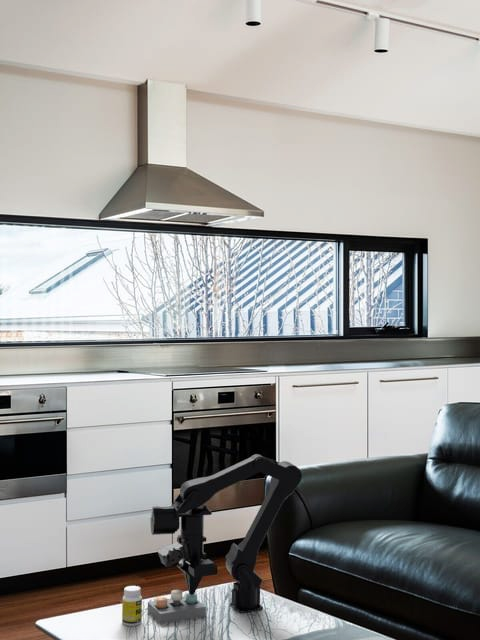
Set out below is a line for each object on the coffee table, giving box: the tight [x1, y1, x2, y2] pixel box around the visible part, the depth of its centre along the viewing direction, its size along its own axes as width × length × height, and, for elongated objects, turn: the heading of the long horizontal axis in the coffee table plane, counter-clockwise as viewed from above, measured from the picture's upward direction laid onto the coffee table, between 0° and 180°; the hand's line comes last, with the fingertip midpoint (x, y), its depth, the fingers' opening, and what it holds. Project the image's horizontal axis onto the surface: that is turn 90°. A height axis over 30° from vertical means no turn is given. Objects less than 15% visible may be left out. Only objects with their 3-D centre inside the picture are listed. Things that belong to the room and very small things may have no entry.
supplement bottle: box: [121, 585, 143, 627], centre depth 208 cm, size 5×5×8 cm
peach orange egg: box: [155, 596, 168, 609], centre depth 212 cm, size 3×3×4 cm
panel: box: [147, 595, 207, 625], centre depth 214 cm, size 12×9×2 cm
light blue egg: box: [185, 592, 198, 605], centre depth 216 cm, size 3×3×4 cm
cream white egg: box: [170, 589, 183, 607], centre depth 214 cm, size 3×3×4 cm
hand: (191, 594), depth 216 cm, fingers closed
